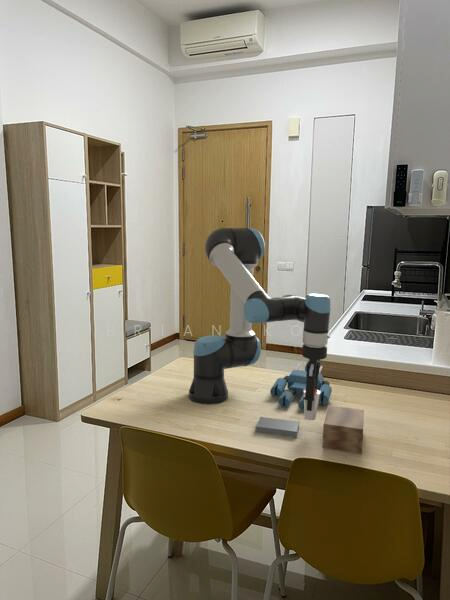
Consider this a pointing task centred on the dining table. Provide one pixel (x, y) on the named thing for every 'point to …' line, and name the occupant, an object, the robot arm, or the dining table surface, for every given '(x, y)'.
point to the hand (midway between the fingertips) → (309, 415)
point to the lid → (277, 427)
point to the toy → (299, 388)
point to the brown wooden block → (343, 429)
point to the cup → (315, 401)
